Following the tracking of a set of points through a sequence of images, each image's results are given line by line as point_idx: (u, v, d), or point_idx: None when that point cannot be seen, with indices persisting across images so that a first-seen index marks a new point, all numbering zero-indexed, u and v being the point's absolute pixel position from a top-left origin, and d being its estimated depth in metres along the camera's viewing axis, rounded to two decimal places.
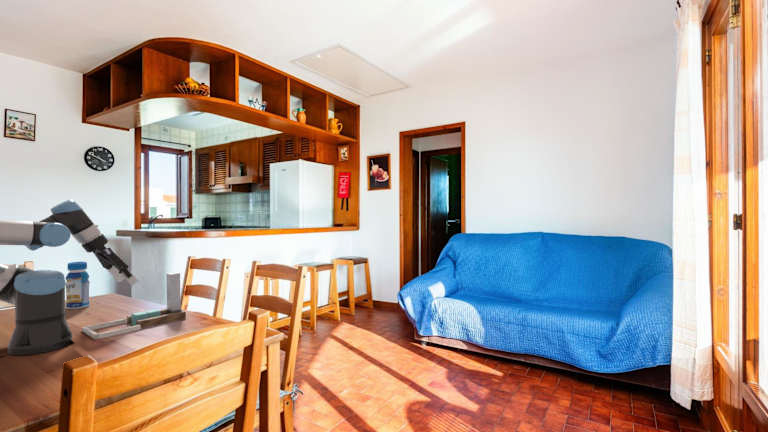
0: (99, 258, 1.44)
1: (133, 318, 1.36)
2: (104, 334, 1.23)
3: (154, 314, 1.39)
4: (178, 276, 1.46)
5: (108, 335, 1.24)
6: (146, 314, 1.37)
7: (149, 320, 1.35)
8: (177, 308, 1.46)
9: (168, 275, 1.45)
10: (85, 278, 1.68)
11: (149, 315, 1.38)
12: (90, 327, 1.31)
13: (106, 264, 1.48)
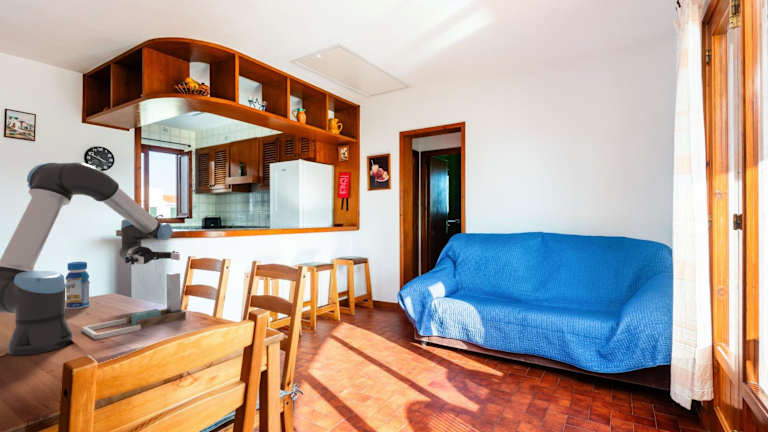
0: (141, 252, 1.59)
1: (133, 318, 1.36)
2: (104, 334, 1.23)
3: (154, 314, 1.39)
4: (178, 276, 1.46)
5: (108, 335, 1.24)
6: (146, 314, 1.37)
7: (149, 320, 1.35)
8: (177, 308, 1.46)
9: (168, 275, 1.45)
10: (85, 278, 1.68)
11: (149, 315, 1.38)
12: (90, 327, 1.31)
13: None
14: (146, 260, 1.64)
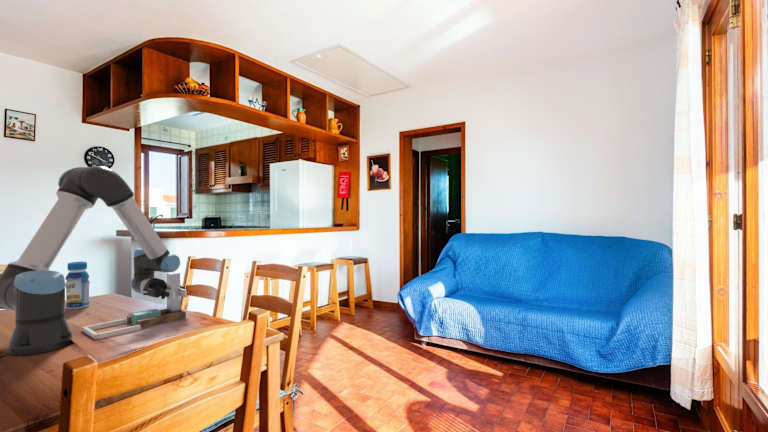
0: (159, 286, 1.51)
1: (133, 318, 1.36)
2: (104, 334, 1.23)
3: (154, 314, 1.39)
4: (178, 276, 1.46)
5: (108, 335, 1.24)
6: (146, 314, 1.37)
7: (149, 320, 1.35)
8: (177, 308, 1.46)
9: (168, 275, 1.45)
10: (85, 278, 1.68)
11: (149, 315, 1.38)
12: (90, 327, 1.31)
13: None
14: None
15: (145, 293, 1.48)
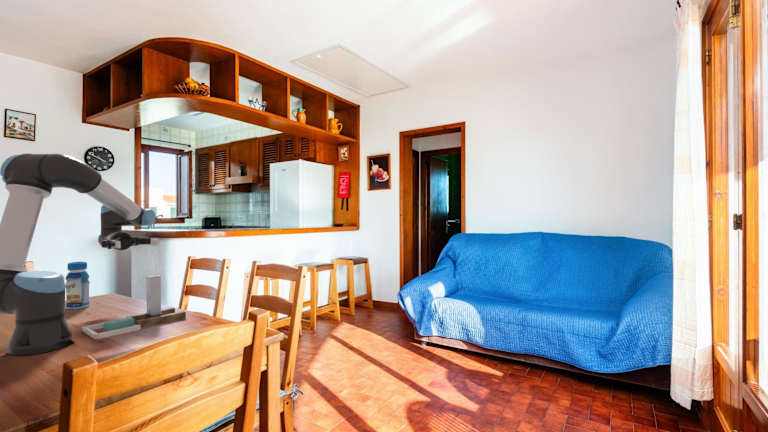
0: (119, 238, 1.54)
1: (105, 327, 1.29)
2: (104, 334, 1.23)
3: (127, 322, 1.32)
4: (158, 279, 1.41)
5: (108, 335, 1.24)
6: (119, 322, 1.30)
7: (149, 320, 1.35)
8: (157, 312, 1.41)
9: (148, 278, 1.40)
10: (85, 278, 1.68)
11: (122, 324, 1.31)
12: (90, 327, 1.31)
13: None
14: (125, 246, 1.60)
15: None
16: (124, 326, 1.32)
